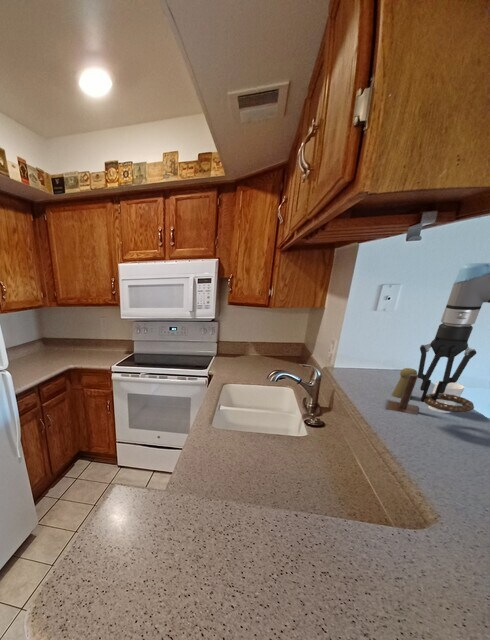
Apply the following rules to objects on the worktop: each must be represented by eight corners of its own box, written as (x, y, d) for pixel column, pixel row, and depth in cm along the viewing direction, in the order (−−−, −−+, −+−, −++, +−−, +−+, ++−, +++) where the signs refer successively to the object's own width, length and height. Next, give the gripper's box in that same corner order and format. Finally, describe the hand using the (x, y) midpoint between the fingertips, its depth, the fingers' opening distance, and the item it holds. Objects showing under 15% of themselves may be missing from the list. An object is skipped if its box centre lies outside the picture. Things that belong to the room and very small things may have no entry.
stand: (416, 409, 119) (430, 373, 112) (415, 418, 112) (430, 381, 106) (387, 404, 123) (399, 369, 117) (385, 412, 117) (397, 376, 110)
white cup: (444, 417, 112) (456, 390, 108) (420, 409, 119) (430, 383, 114) (457, 413, 115) (469, 386, 110) (433, 405, 122) (444, 379, 117)
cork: (389, 395, 130) (398, 369, 125) (394, 391, 134) (403, 365, 129) (407, 399, 127) (417, 372, 121) (411, 395, 130) (421, 368, 125)
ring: (470, 403, 102) (472, 397, 102) (473, 417, 94) (476, 410, 93) (423, 395, 109) (425, 389, 108) (422, 407, 100) (425, 401, 99)
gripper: (423, 324, 94) (398, 400, 105) (494, 328, 86) (459, 410, 97) (423, 320, 99) (400, 393, 110) (490, 324, 91) (457, 402, 102)
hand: (427, 401), depth 104 cm, fingers closed on ring, 2 cm apart
